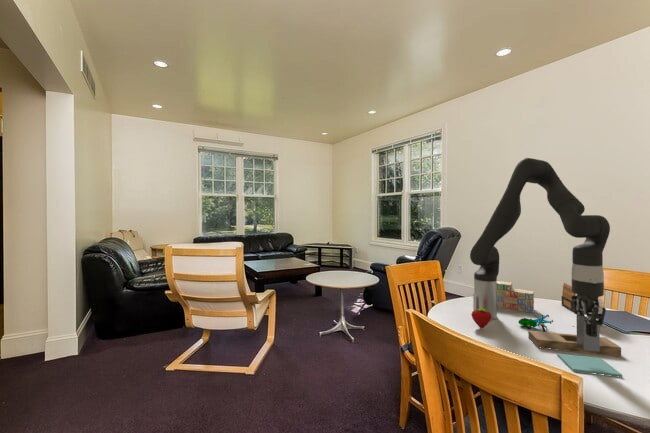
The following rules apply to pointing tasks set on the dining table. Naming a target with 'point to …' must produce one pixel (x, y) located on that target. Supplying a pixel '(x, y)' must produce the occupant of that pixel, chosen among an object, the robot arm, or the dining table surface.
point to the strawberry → (481, 317)
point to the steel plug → (583, 338)
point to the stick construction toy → (535, 322)
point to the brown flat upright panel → (567, 297)
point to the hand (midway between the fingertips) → (587, 333)
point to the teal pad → (588, 365)
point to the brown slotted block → (570, 343)
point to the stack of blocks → (514, 297)
